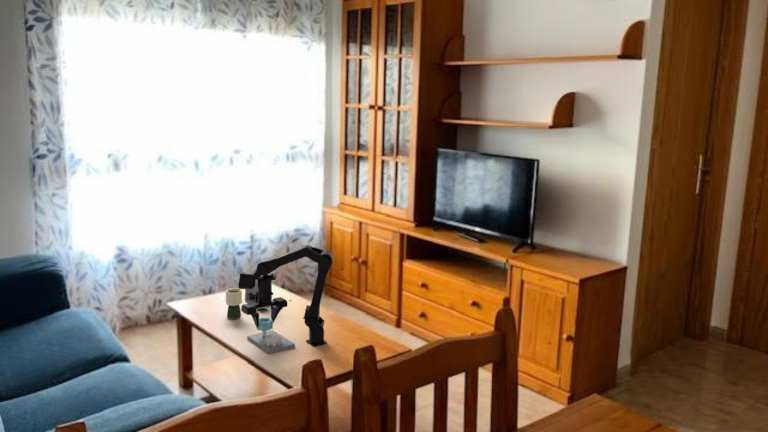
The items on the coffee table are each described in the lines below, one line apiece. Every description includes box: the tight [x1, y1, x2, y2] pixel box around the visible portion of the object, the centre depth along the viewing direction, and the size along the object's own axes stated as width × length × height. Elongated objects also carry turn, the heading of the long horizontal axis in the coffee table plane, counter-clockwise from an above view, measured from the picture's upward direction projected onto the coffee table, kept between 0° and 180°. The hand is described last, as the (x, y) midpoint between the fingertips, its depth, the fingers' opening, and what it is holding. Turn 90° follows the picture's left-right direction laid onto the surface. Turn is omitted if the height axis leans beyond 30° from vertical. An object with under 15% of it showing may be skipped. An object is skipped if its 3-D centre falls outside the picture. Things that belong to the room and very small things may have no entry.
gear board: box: [246, 329, 296, 355], centre depth 268 cm, size 18×12×6 cm, turn 40°
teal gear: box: [255, 316, 274, 332], centre depth 269 cm, size 7×7×4 cm
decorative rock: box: [244, 280, 270, 309], centre depth 310 cm, size 16×7×15 cm, turn 39°
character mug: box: [225, 287, 243, 319], centre depth 294 cm, size 11×7×13 cm, turn 36°
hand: (264, 325), depth 269 cm, fingers closed on teal gear, 7 cm apart
